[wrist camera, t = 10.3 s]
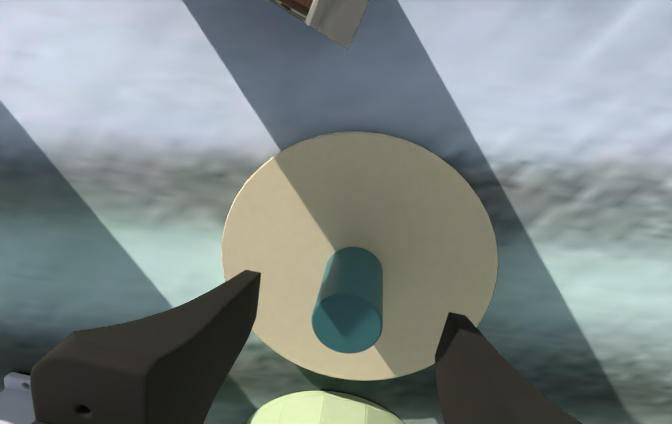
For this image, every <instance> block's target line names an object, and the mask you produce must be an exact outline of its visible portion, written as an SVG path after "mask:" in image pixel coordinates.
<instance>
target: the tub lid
mask: <svg viewBox="0 0 672 424" xmlns="http://www.w3.org/2000/svg"><path fill="white" fill-rule="evenodd" d="M222 264H223V271H224V277H225V280H226V281H228V280H230V279H231V278H233V277H234V276H236V275H238V274H239V273H241V272H243V271H244V270H251V271H255V272H260V273H261V280H260V290H259V299H258V308H257V317H256V320H255V322H254V325H253V327H252V331H253V332H254V333H255V334H256V335H257V336H258V337H259V338H260V339H261V340H262V341H263V342H264V343H265V344H267V345H268V346H269V347H270V348H271V349H273V350H274V351H275V352H277V353H278V354H280V355H281V356H283V357H284V358H286V359H287V360H289V361H291V362H293V363H295V364H297V365H299V366H301V367H303V368H306V369H308V370H311V371H313V372H316V373H319V374H323V375H326V376H330V377H335V378H341V379H347V380H361V381H368V380H383V379H390V378H396V377H400V376H404V375H408V374H412V373H414V372H417V371H419V370H422V369H424V368H427V367H429V366H431V365H433V364H434V363H435V353H436V350H437V347H438V344H439V341H440V338H441V335H442V332H443V328H444V325H445V322H446V319H447V316H448V313H449V312H452V313H457V314H462V315H465V316H466V317H467V318H468V319H469V320H470V321H471V322H472V323H473V324H474V326H475V327H477V326H478V324H479V323H480V321H481V319H482V318H483V316H484V315H485V313H486V310H487V308H488V306H489V304H490V302H491V299H492V296H493V292H494V289H495V285H496V279H497V271H498V250H497V244H496V239H495V233H494V230H493V227H492V224H491V222H490V219H489V216H488V214H487V212H486V210H485V208H484V206H483V204H482V202H481V201H480V199H479V197H478V196H477V195H476V193H475V192H474V191H473V189H472V188H471V187H470V185H469V184H468V183H467V181H466V180H465V179H464V178H463V177H462V176H461V175H460V174H459V173H458V172H457V171H456V170H455V169H454V168H453V167H452V166H450V165H449V164H448V163H446V162H445V161H444V160H442V159H441V158H440V157H439V156H437V155H435V154H433V153H432V152H430V151H428V150H426V149H425V148H423V147H421V146H419V145H416V144H414V143H411V142H409V141H406V140H404V139H401V138H397V137H393V136H389V135H385V134H380V133H372V132H363V131H357V132H338V133H331V134H324V135H320V136H317V137H313V138H310V139H306V140H304V141H301V142H299V143H297V144H295V145H292V146H290V147H288V148H286V149H285V150H283V151H282V152H280V153H278V154H277V155H275V156H274V157H272V158H271V159H270V160H268V161H267V162H266V163H265V164H264V165H262V166H261V167H260V168H259V169H258V170H256V172H255V173H254V174H253V175H252V176H251V177H250V178H249V179H248V181H247V182H246V183H245V184H244V186H243V187H242V189H241V190H240V192H239V193H238V195H237V196H236V198H235V200H234V202H233V204H232V207H231V209H230V211H229V213H228V217H227V220H226V223H225V227H224V232H223V239H222Z"/></svg>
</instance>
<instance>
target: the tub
mask: <svg viewBox="0 0 672 424" xmlns="http://www.w3.org/2000/svg"><path fill="white" fill-rule="evenodd" d="M246 424H405V423H403V422H402V421H401V420H400V419H399V418H398V417H396V416H395V415H394V414H392V413H391V412H389V411H388V410H386V409H385V408H383V407H381V406H379V405H377V404H375V403H373V402H371V401H368V400H366V399H363V398H360V397H357V396H353V395H350V394H346V393H340V392H334V391H304V392H297V393H292V394H288V395H285V396H282V397H279V398H277V399H274V400H272V401H270V402H269V403H267V404H265V405H263V406H262V407H261V408H260V409H258V410H257V411H256V412H255V413H254V414H253V415H252V416H251V417H250V418H249V419H248V421H247V422H246Z"/></svg>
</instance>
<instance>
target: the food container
mask: <svg viewBox="0 0 672 424" xmlns="http://www.w3.org/2000/svg"><path fill="white" fill-rule="evenodd" d="M270 1H271V2H273V3H274V4H276V5H278V6H279V7H281V8H282V9H284V10H285V11H287V12H289V13H290V14H292V15H293V16H295V17H297V18H298V19H300V20H301V21H303V22H305V24H307V25H308V26H310V27H311V28H313V29H315V30H316V31H318V32H320V33H321V34H323V35H324V36H326V37H328V38H329V39H331V40H332V41H334V42H336V43H337V44H339V45H341V46H342V47H344V48H345V49H347V50H348V48H349V46H350V44H351V42H352V39H353V37H354V35H355V32H356V30H357V28H358V26H359V23H360V21H361V19H362V16H363V14H364V12H365V9H366V7H367V5H368V1H369V0H270Z"/></svg>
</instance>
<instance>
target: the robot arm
mask: <svg viewBox="0 0 672 424" xmlns="http://www.w3.org/2000/svg"><path fill="white" fill-rule="evenodd" d="M260 280H261V273H260V272H255V271H251V270H244V271H243V272H241V273H239V274H238V275H236V276H234V277H233V278H231V279H230V280H228V281H226V282H225V283H223V284H221V285H220V286H218V287H216V288H214V289H213V290H211V291H209V292H207V293H205V294H203V295H201V296H199V297H197V298H195V299H193V300H191V301H189V302H187V303H185V304H183V305H180V306H178V307H175V308H173V309H170V310H168V311H165V312H162V313H159V314H155V315H152V316H149V317H146V318H143V319H139V320H135V321H131V322H127V323H123V324H118V325H113V326H108V327H102V328H95V329H88V330H81V331H74V332H73V333H72V334H70V335H69V336H68V337H67V338H65V339H64V340H63V341H62V342H61V343H59V344H58V345H57V346H56V347H55V348H53V349H52V350H51V351H50V352H49V353H48V354H46V355H45V356H44V357H43V358H42V359H40V360H39V361H38V362H37V363H36V364H35V366H34V367H33V369H32V372H31V374H30V376H29V375H24V374H20V373H16V372H11V373H9V374H8V375H7V376H5V378H4V385H5V389H4V390H3V391H1V392H0V424H203V423H204V421H205V419H206V416H207V414H208V412H209V410H210V407H211V405H212V403H213V401H214V398H215V396H216V394H217V392H218V391H219V389H220V387H221V385H222V383H223V381H224V380H225V378H226V376H227V374H228V373H229V371H230V369H231V367H232V366H233V364H234V362H235V361H236V359H237V357H238V355H239V354H240V352H241V350H242V348H243V346H244V345H245V343H246V341H247V339H248V337H249V334H250V332H251V330H252V327H253V325H254V322H255V320H256V317H257V308H258V299H259V290H260ZM435 370H436V382H437V388H438V393H439V398H440V403H441V408H442V413H443V418H444V423H445V424H582V423H580V422H579V421H577V420H576V419H574V418H573V417H571V416H570V415H569V414H567V413H566V412H564V411H563V410H562V409H560V408H559V407H558V406H556V405H555V404H554V403H552V402H551V401H550V400H548V399H547V398H546V397H545V396H543V395H542V394H541V393H540V392H539V391H537V390H536V389H535V388H534V387H533V386H532V385H531V384H529V383H528V382H527V381H526V380H525V379H524V378H523V377H522V376H521V375H520V374H518V373H517V372H516V371H515V370H514V369H513V368H512V367H511V366H510V365H509V364H508V363H507V362H506V361H505V359H504V358H503V357H502V356H501V355H500V354H499V353H498V352H497V351H496V350H495V349H494V348H493V346H492V345H491V344H490V343H489V342H488V341H487V340H486V338H485V337H484V336H483V335H482V334H481V333H480V331H479V330H478V329H477V328H476V327H475V326H474V324H473V323H472V322H471V321H470V320H469V319H468V318H467V317H466V316H465V315H462V314H457V313H452V312H449V313H448V316H447V319H446V322H445V325H444V328H443V332H442V335H441V338H440V341H439V344H438V347H437V350H436V353H435Z"/></svg>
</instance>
